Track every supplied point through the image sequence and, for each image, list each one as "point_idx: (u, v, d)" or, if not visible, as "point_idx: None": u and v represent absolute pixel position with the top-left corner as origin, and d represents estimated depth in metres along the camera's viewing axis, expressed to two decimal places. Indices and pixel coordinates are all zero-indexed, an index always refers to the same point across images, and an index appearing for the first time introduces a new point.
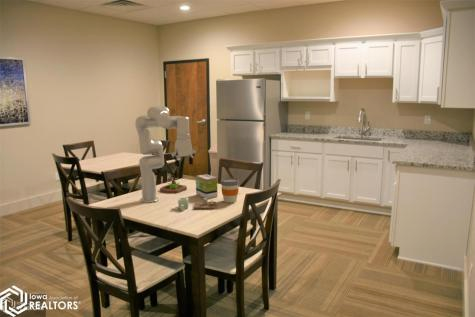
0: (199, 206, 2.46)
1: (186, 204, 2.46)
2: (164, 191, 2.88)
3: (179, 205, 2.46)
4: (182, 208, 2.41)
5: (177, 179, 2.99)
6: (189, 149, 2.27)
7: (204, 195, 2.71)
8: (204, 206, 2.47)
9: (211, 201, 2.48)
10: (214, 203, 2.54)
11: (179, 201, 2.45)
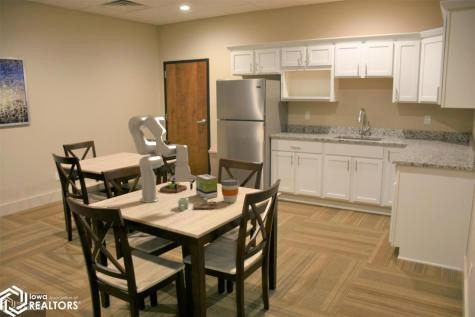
0: (199, 206, 2.46)
1: (186, 204, 2.46)
2: (164, 191, 2.88)
3: (179, 205, 2.46)
4: (182, 208, 2.41)
5: None
6: None
7: (204, 195, 2.71)
8: (204, 206, 2.47)
9: (211, 201, 2.48)
10: (214, 203, 2.54)
11: (179, 201, 2.45)
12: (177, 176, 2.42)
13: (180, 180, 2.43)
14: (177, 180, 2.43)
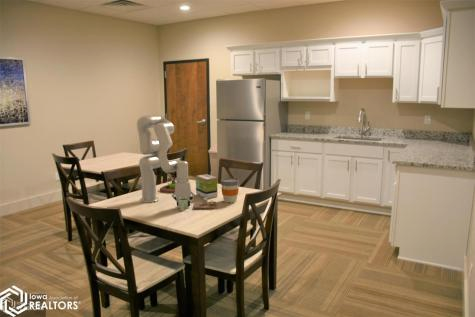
0: (199, 206, 2.46)
1: (186, 204, 2.46)
2: (164, 191, 2.88)
3: (179, 205, 2.46)
4: (182, 208, 2.41)
5: None
6: None
7: (204, 195, 2.71)
8: (204, 206, 2.47)
9: (211, 201, 2.48)
10: (214, 203, 2.54)
11: (179, 201, 2.45)
12: (177, 192, 2.44)
13: (180, 196, 2.45)
14: (177, 196, 2.45)
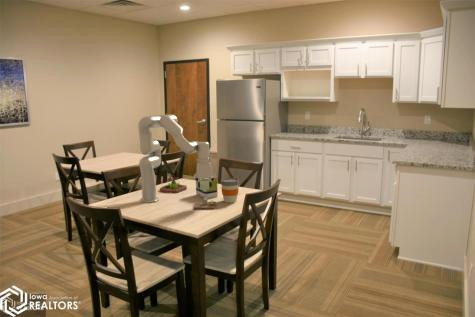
0: (199, 206, 2.46)
1: (208, 185, 2.46)
2: (164, 191, 2.89)
3: (201, 186, 2.46)
4: (204, 188, 2.42)
5: (177, 179, 2.99)
6: None
7: (204, 195, 2.71)
8: (204, 206, 2.47)
9: (211, 201, 2.48)
10: (214, 203, 2.54)
11: (201, 182, 2.45)
12: (199, 172, 2.45)
13: (201, 177, 2.45)
14: (199, 176, 2.45)
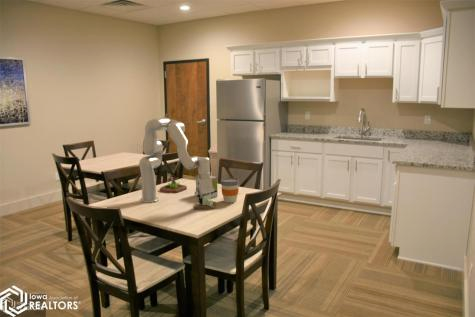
0: (199, 206, 2.46)
1: (210, 199, 2.50)
2: (164, 191, 2.89)
3: (204, 201, 2.47)
4: (211, 203, 2.45)
5: (177, 179, 3.00)
6: None
7: None
8: (204, 206, 2.47)
9: None
10: (214, 203, 2.54)
11: (204, 197, 2.47)
12: (202, 188, 2.45)
13: (205, 192, 2.47)
14: (202, 192, 2.46)
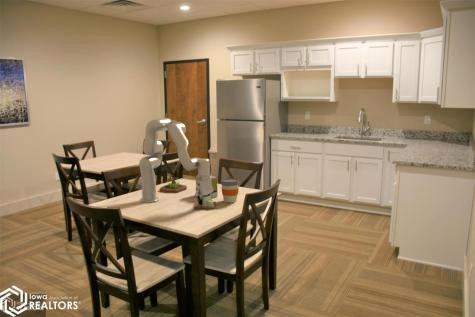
0: (199, 206, 2.46)
1: (210, 200, 2.50)
2: (164, 191, 2.89)
3: (205, 202, 2.47)
4: (212, 204, 2.46)
5: (177, 179, 3.00)
6: None
7: None
8: None
9: None
10: (214, 203, 2.54)
11: (205, 198, 2.46)
12: (203, 190, 2.45)
13: (205, 193, 2.47)
14: (203, 194, 2.46)
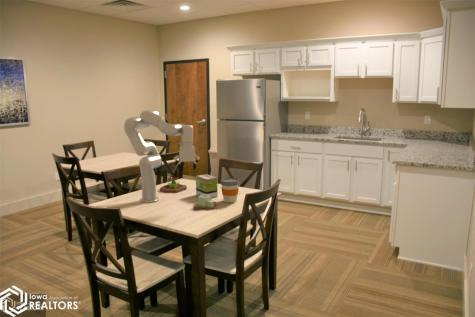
0: (199, 206, 2.46)
1: (210, 200, 2.50)
2: (164, 190, 2.89)
3: (205, 202, 2.47)
4: (212, 204, 2.46)
5: (177, 179, 3.00)
6: None
7: None
8: None
9: None
10: (214, 203, 2.54)
11: (205, 198, 2.46)
12: (182, 156, 2.44)
13: (185, 160, 2.45)
14: (182, 160, 2.44)
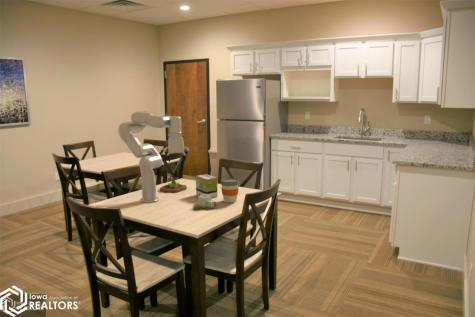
0: (199, 206, 2.46)
1: (210, 200, 2.50)
2: (164, 190, 2.90)
3: (205, 202, 2.47)
4: (212, 204, 2.46)
5: (177, 179, 3.00)
6: None
7: None
8: None
9: None
10: (214, 203, 2.54)
11: (205, 198, 2.46)
12: (170, 147, 2.44)
13: (173, 151, 2.45)
14: (170, 151, 2.45)
